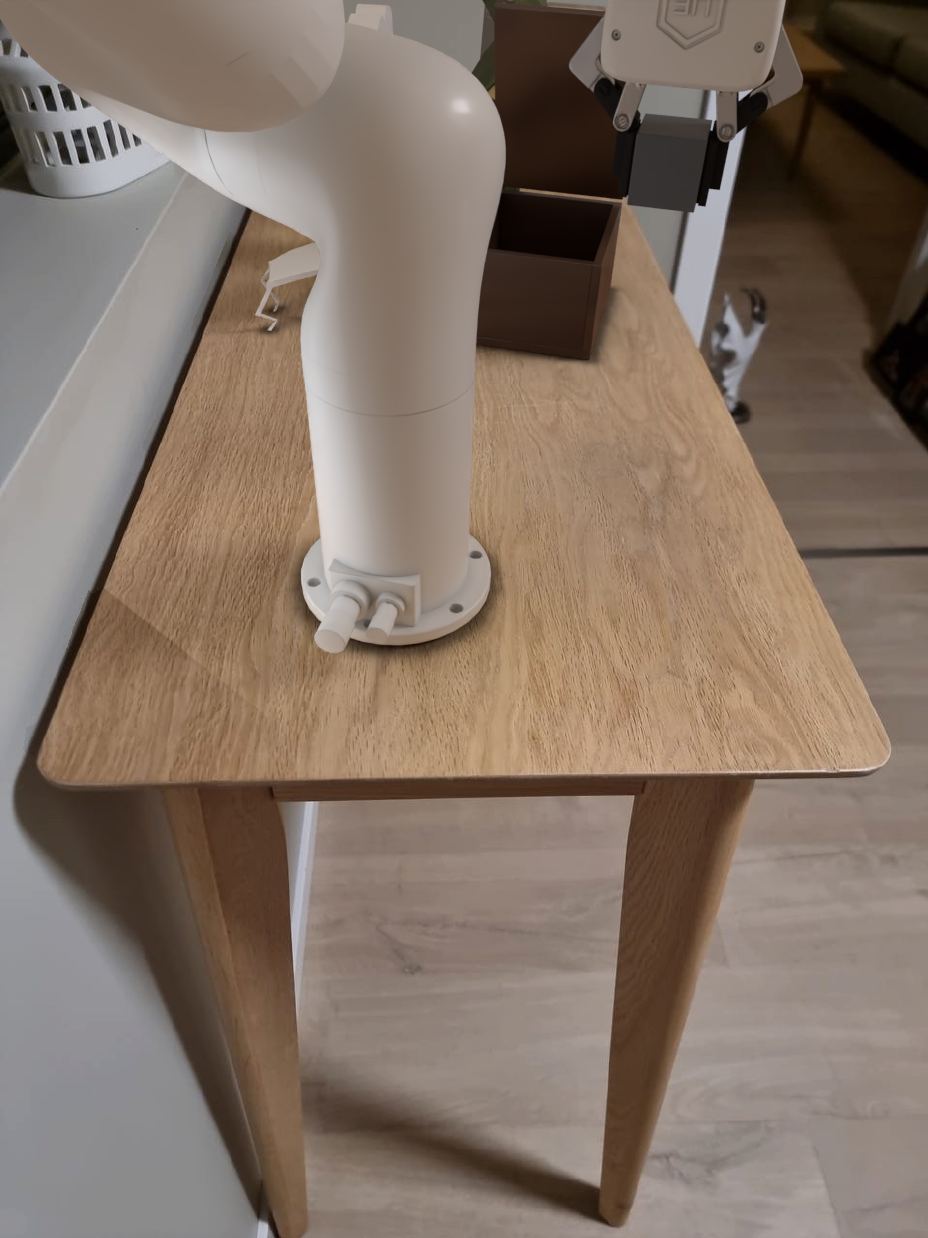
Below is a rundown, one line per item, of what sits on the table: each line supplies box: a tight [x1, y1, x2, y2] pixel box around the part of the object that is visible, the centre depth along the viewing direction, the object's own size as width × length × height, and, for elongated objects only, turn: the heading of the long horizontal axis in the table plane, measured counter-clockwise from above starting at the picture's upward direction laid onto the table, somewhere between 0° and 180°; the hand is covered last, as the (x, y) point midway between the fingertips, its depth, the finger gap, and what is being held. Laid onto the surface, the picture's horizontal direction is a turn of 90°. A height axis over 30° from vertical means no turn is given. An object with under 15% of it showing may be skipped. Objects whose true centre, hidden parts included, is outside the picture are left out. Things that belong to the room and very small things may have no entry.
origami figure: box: [254, 241, 320, 332], centre depth 89 cm, size 12×8×5 cm
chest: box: [476, 189, 623, 361], centre depth 88 cm, size 16×13×9 cm
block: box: [626, 113, 713, 214], centre depth 61 cm, size 4×4×4 cm
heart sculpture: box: [347, 3, 394, 35], centre depth 112 cm, size 16×5×18 cm, turn 176°
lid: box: [494, 1, 626, 201], centre depth 84 cm, size 16×13×5 cm
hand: (664, 191), depth 62 cm, fingers closed on block, 4 cm apart
